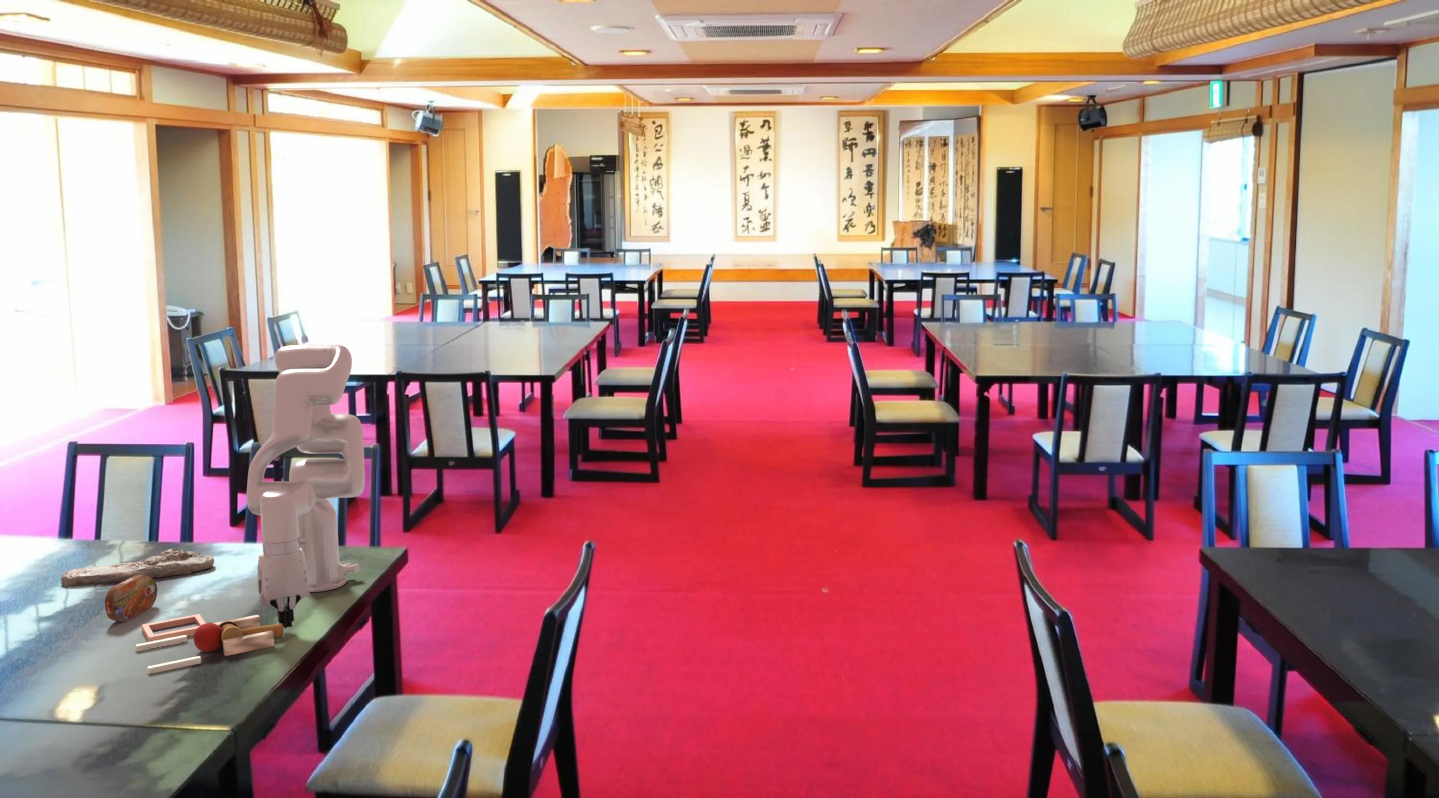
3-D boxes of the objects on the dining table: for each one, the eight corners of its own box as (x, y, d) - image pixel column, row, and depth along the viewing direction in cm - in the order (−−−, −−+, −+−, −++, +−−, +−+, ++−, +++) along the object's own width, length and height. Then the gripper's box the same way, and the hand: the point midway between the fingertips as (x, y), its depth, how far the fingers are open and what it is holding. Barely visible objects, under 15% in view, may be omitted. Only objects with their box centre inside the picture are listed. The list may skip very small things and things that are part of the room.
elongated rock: (64, 583, 302) (61, 598, 293) (61, 564, 301) (57, 578, 292) (214, 559, 315) (215, 572, 307) (211, 540, 314) (212, 553, 305)
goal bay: (186, 639, 262) (185, 634, 261) (201, 663, 249) (200, 657, 249) (135, 649, 256) (135, 644, 256) (148, 674, 244) (148, 668, 244)
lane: (258, 627, 269) (258, 614, 269) (274, 645, 259) (273, 632, 258) (211, 636, 264) (210, 623, 263) (225, 655, 253) (224, 642, 252)
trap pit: (199, 620, 273) (199, 613, 273) (208, 632, 266) (208, 626, 266) (142, 631, 267) (141, 624, 266) (149, 644, 259) (149, 637, 259)
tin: (116, 627, 269) (112, 591, 268) (103, 626, 270) (100, 590, 268) (159, 604, 284) (156, 569, 282) (148, 603, 284) (145, 568, 283)
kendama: (275, 635, 268) (188, 641, 258) (279, 609, 266) (192, 614, 256) (283, 652, 262) (195, 659, 252) (287, 626, 260) (198, 632, 250)
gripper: (310, 536, 270) (315, 613, 273) (241, 547, 261) (247, 627, 265) (320, 544, 264) (325, 623, 267) (250, 556, 255) (256, 638, 259)
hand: (286, 625), depth 266 cm, fingers closed
